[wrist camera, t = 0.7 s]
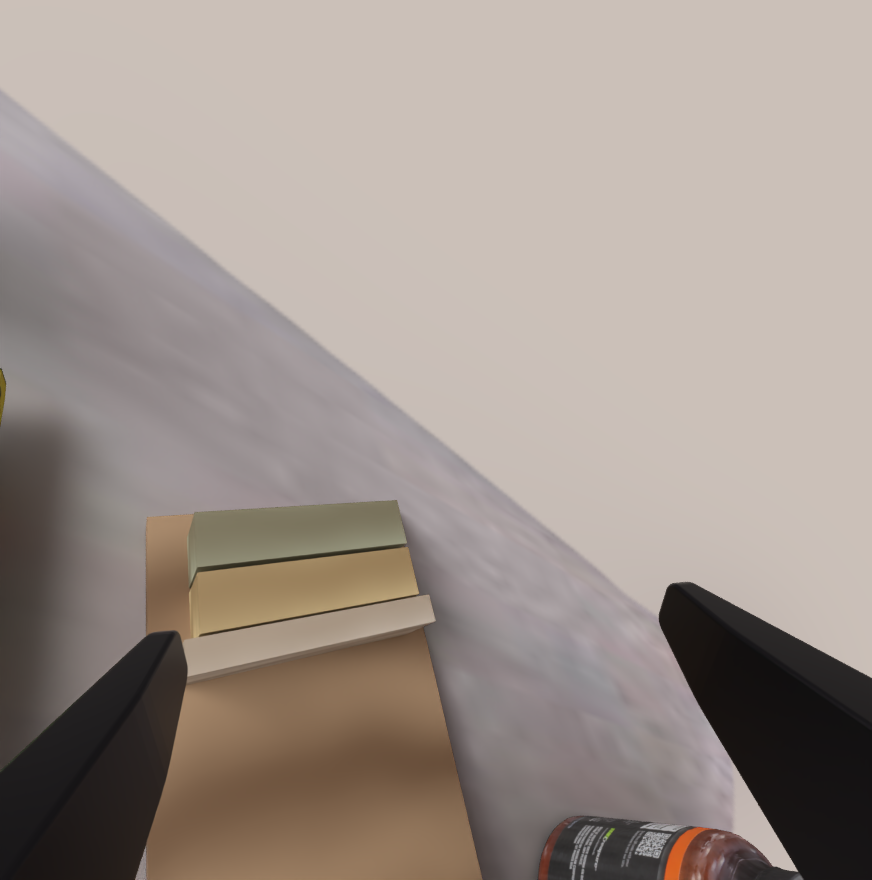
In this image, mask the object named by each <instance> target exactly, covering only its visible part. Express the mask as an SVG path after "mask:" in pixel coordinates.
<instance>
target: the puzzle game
mask: <svg viewBox="0 0 872 880" xmlns="http://www.w3.org/2000/svg"><path fill="white" fill-rule="evenodd" d="M5 391H6V381H5V378H4V375H3V371H2V369H1V368H0V425H1V419H2V413H3V406H4V400H5Z"/></svg>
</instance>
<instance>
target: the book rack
mask: <svg viewBox="0 0 872 880" xmlns="http://www.w3.org/2000/svg"><path fill="white" fill-rule="evenodd" d="M405 544H407V540H406V536H405V532H404V528H403V524H402V519H401V515H400V511H399V507H398V502H397V500H392V501H375V502H359V503H342V504H325V505H309V506H292V507H275V508H259V509H242V510H225V511H209V512H194V514H190V515H173V516H157V517H147V523H146V636H147V635H148V634H150V633H152V632H158V631H169V630H175V631H178V632H179V634H180V636H181V640H182V644H183V648H184V652H185V656H186V661H187V665H188V676H187V683H186V687H185V692H184V697H183V702H182V707H181V712H180V717H179V722H178V726H177V731H176V736H175V741H174V746H173V751H172V756H171V760H170V765H169V769H168V774H167V778H166V782H165V785H164V788H163V792H162V795H161V799H160V802H159V805H158V808H157V811H156V814H155V818H154V821H153V824H152V827H151V830H150V833H149V837H148V840H147V843H146V876H147V880H482V876H481V872H480V867H479V863H478V859H477V855H476V850H475V846H474V842H473V837H472V833H471V829H470V825H469V820H468V816H467V812H466V807H465V803H464V799H463V795H462V790H461V786H460V782H459V778H458V773H457V769H456V765H455V760H454V756H453V752H452V748H451V743H450V739H449V735H448V730H447V726H446V722H445V718H444V713H443V709H442V705H441V700H440V696H439V692H438V688H437V683H436V679H435V675H434V671H433V666H432V662H431V658H430V653H429V649H428V645H427V641H426V636H425V632H424V628H423V627H424V626H426V625H428V624H431V623H433V622H435V617H434V612H433V608H432V604H431V600H430V596H429V594H428V595H423V596H417V597H416V595H418V594H419V591H418V587H417V583H416V578H415V574H414V570H413V566H412V562H411V557H410V553H409V549H408V547H405V546H404V545H405Z"/></svg>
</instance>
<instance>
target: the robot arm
mask: <svg viewBox="0 0 872 880" xmlns="http://www.w3.org/2000/svg"><path fill="white" fill-rule="evenodd" d="M659 623H660V626H661V629H662V631H663V633H664V635H665V637H666V639H667V641H668V643H669V645H670V648H671V650H672V652H673V654H674V656H675V658H676V660H677V662H678V664H679V666H680V668H681V670H682V672H683V674H684V676H685V679H686V681H687V683H688V685H689V687H690V689H691V691H692V693H693V695H694V697H695V699H696V700H697V702H698V704H699V706H700V708H701V709H702V711H703V713H704V715H705V716H706V718H707V720H708V721H709V723H710V725H711V726H712V728H713V730H714V731H715V733H716V735H717V736H718V738H719V740H720V741H721V743H722V745H723V746H724V748H725V750H726V751H727V753H728V755H729V756H730V758H731V760H732V761H733V763H734V765H735V766H736V768H737V770H738V771H739V773H740V775H741V776H742V778H743V780H744V781H745V783H746V785H747V786H748V788H749V790H750V791H751V793H752V795H753V796H754V798H755V800H756V801H757V803H758V805H759V806H760V808H761V810H762V812H763V813H764V815H765V817H766V818H767V820H768V822H769V823H770V825H771V826H772V828H773V830H774V832H775V833H776V835H777V837H778V838H779V840H780V842H781V843H782V845H783V847H784V848H785V850H786V851H787V853H788V855H789V856H790V858H791V860H792V861H793V863H794V865H795V867H796V868H797V870H798V872H799V873H800V875H801V877H802V878H803V880H872V678H870V677H869V676H867V675H865V674H863V673H861V672H859V671H858V670H856V669H854V668H852V667H850V666H848V665H846V664H844V663H842V662H840V661H839V660H837V659H835V658H833V657H831V656H829V655H827V654H825V653H824V652H822V651H820V650H818V649H816V648H814V647H812V646H810V645H809V644H807V643H805V642H803V641H801V640H799V639H797V638H795V637H793V636H792V635H790V634H788V633H786V632H784V631H782V630H780V629H779V628H776V627H774V626H773V625H771V624H769V623H767V622H765V621H763V620H762V619H760V618H758V617H756V616H754V615H752V614H750V613H748V612H747V611H744V610H743V609H741V608H739V607H737V606H735V605H733V604H731V603H730V602H728V601H726V600H724V599H722V598H720V597H718V596H716V595H715V594H713V593H711V592H709V591H707V590H705V589H703V588H701V587H699V586H698V585H696V584H694V583H691V582H680V583H672V584H670V585H669V586H668V587H667V589H666V593H665V596H664V599H663V602H662V606H661V609H660V612H659ZM187 676H188V665H187V661H186V656H185V652H184V648H183V644H182V640H181V636H180V634H179V632H178V631H175V630H169V631H158V632H152V633H150V634H148V635H147V636H146V637H145V638H144V639H142V640H141V641H140V642H139V643H138V644H137V645H136V646H135V647H134V648H133V649H132V650H131V651H130V652H128V653H127V654H126V655H125V656H124V657H123V658H122V659H121V660H120V661H119V662H118V663H117V664H115V665H114V666H113V667H112V668H111V669H110V670H109V671H108V672H107V673H106V674H105V675H104V676H103V677H101V678H100V679H99V680H98V681H97V682H96V683H95V684H94V685H93V686H92V687H91V688H90V689H89V690H87V691H86V692H85V693H84V694H83V695H82V696H81V697H80V698H79V699H78V700H77V701H76V702H74V703H73V704H72V705H71V706H70V707H69V708H68V709H67V710H66V711H65V712H64V713H63V714H62V715H60V716H59V717H58V718H57V719H56V720H55V721H54V722H53V723H52V724H51V725H50V726H49V727H47V728H46V729H45V730H44V731H43V732H42V733H41V734H40V735H39V736H38V737H37V738H36V739H35V740H33V741H32V742H31V743H30V744H29V745H28V746H27V747H26V748H25V749H24V750H23V751H22V752H20V753H19V754H18V755H17V756H16V757H15V758H14V759H13V760H12V761H11V762H10V763H9V764H8V765H6V766H5V767H4V768H3V769H2V770H1V771H0V880H135V878H136V875H137V871H138V868H139V865H140V862H141V859H142V856H143V852H144V849H145V846H146V843H147V840H148V837H149V833H150V830H151V827H152V824H153V821H154V818H155V814H156V811H157V808H158V805H159V802H160V799H161V795H162V792H163V788H164V785H165V782H166V778H167V774H168V769H169V765H170V760H171V756H172V751H173V746H174V741H175V736H176V731H177V726H178V722H179V717H180V712H181V707H182V702H183V697H184V692H185V687H186V683H187Z"/></svg>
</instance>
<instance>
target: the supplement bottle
mask: <svg viewBox="0 0 872 880" xmlns="http://www.w3.org/2000/svg"><path fill="white" fill-rule="evenodd" d="M538 880H803V878H802V877H801V875H800V873H799V872H795V871H787V870H783V869H781V868H778V867H773V866H772V865H771V863H770V862H769V861H768V860H767V858H766V857H765V856H764V855H763V854H762V853H761V852H760V851H759V850H758V849H757V848H756V847H755V846H753V845H752V844H750V843H749V842H748V841H746V840H745V839H743V838H742V837H741V836H739V835H736V834H733V833H731V832H727V831H722V830H718V829H710V828H701V827H693V826H681V825H671V824H661V823H652V822H641V821H632V820H624V819H613V818H602V817H593V816H576V817H571V818H567V819H566V820H564V821H563V822H562V823H560V824H559V825H558V826H557V827H556V828H555V829H554V830H553V832H552V833H551V835H550V836H549V838H548V840H547V842H546V845H545V847H544V850H543V852H542V855H541V861H540V865H539V873H538Z"/></svg>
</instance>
